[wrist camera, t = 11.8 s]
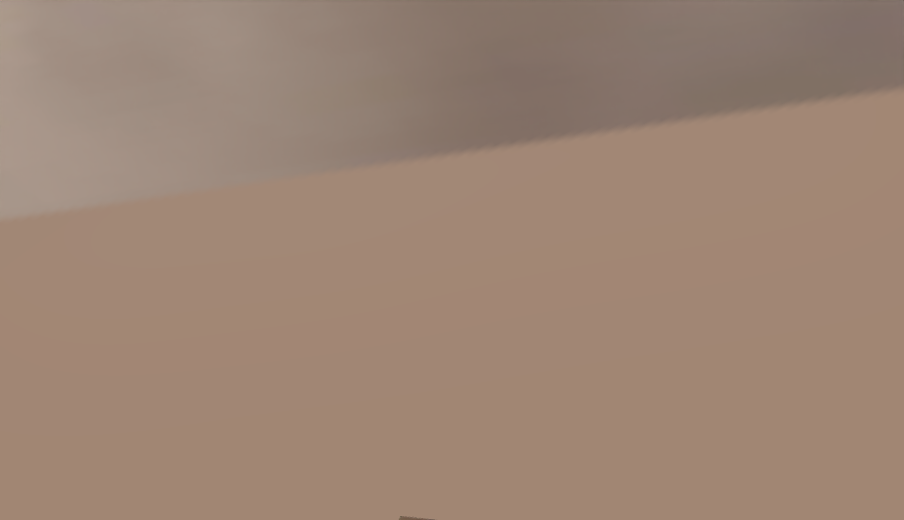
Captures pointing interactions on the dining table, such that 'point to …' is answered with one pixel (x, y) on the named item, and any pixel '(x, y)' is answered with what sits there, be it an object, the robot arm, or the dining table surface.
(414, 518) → the robot arm
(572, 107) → the dining table surface
